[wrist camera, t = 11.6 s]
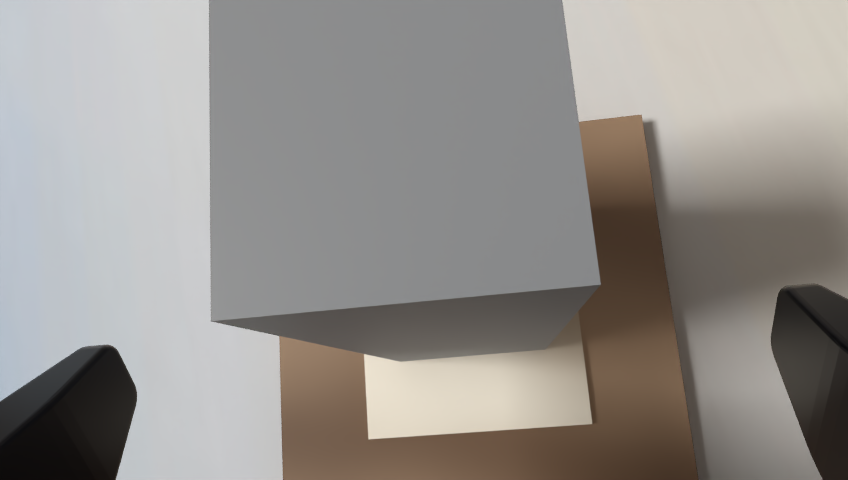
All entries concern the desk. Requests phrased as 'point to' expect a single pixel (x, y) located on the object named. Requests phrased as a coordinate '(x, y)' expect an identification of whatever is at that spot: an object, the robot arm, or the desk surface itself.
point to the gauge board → (518, 373)
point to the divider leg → (397, 175)
